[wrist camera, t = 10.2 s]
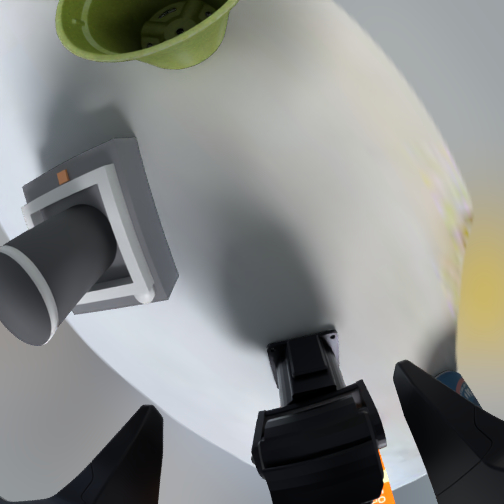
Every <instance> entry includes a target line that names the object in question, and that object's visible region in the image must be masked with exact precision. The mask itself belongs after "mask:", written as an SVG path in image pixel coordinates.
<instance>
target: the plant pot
mask: <svg viewBox="0 0 504 504" xmlns="http://www.w3.org/2000/svg"><path fill="white" fill-rule="evenodd" d="M238 1H239V0H59V3H58V6H57V10H56V18H55V23H56V31H57V35H58V37H59V39H60V41H61V43H62V44H63V46H64V47H65V48H66V49H67V50H68V51H70V52H71V53H73V54H74V55H76V56H79V57H81V58H84V59H87V60H91V61H97V62H124V61H130V60H138V61H142V62H145V63H148V64H151V65H154V66H157V67H160V68H164V69H184V68H187V67H191V66H194V65H196V64H199V63H200V62H202V61H204V60H205V59H207V58H208V57H209V56H211V55H212V54H213V53H214V52H215V51H216V50H217V48H218V47H219V45H220V44H221V42H222V40H223V38H224V35H225V30H226V26H227V20H228V16H229V11H230V10H231V9H232V8H233V7H234V6H235V5H236V4H237V2H238ZM174 8H175V9H176V10H175V11H173V12H171V13H168V14H166V15H164V16H163V17H162V18H159V17H160V15H162V14H163V13H165V12H166V11H168V10H170V9H174ZM205 12H210V13H212V15H211V16H209V17H208V16H207V15H206V14H205ZM181 28H182V29H183V30H184V31H183V33H181V34H177V33H176V31H177V30H178V29H181ZM148 43H152V47H149V48H148Z"/></svg>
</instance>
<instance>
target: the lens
mask: <svg viewBox="0 0 504 504" xmlns="http://www.w3.org/2000/svg"><path fill="white" fill-rule="evenodd" d="M116 252H117V241H116V238H115V235H114V233H113V230H112V227H111V224H110V222H109V220H108V219H107V217H106V216H105V215H104V214H103V213H102V212H101V211H100V210H98V209H97V208H95V207H93V206H90V205H87V204H78V205H74V206H72V207H70V208H68V209H66V210H64V211H62V212H60V213H58V214H56V215H54V216H53V217H51V218H49V219H47V220H45V221H43V222H42V223H40V224H38V225H36V226H34V227H33V228H31V229H29V230H27V231H26V232H24V233H22V234H21V235H19V236H17V237H16V238H14V239H12V240H11V241H9V242H8V243H6V244H5V245H3V246H0V321H1V322H2V323H3V325H4V326H5V327H6V328H7V329H8V330H9V331H10V332H11V333H12V334H13V335H14V336H16V337H17V338H18V339H20V340H21V341H23V342H25V343H27V344H30V345H34V346H40V345H43V344H46V343H47V342H48V341H49V340H50V339H51V337H52V336H53V335H54V333H55V332H56V330H57V328H58V327H59V325H60V324H61V323H62V321H63V320H64V319H65V318H66V317H67V315H68V314H69V313H70V312H71V310H72V309H73V308H74V307H75V306H76V304H77V303H78V302H79V301H80V300H81V299H82V297H83V296H84V295H85V294H86V293H87V292H88V290H89V289H90V288H91V287H92V286H93V285H94V284H95V282H96V281H97V280H98V279H99V278H100V277H101V276H102V275H103V274H104V272H105V271H106V270H107V269H108V268H109V267H110V266H111V265H112V263H113V262H114V259H115V257H116Z"/></svg>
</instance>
